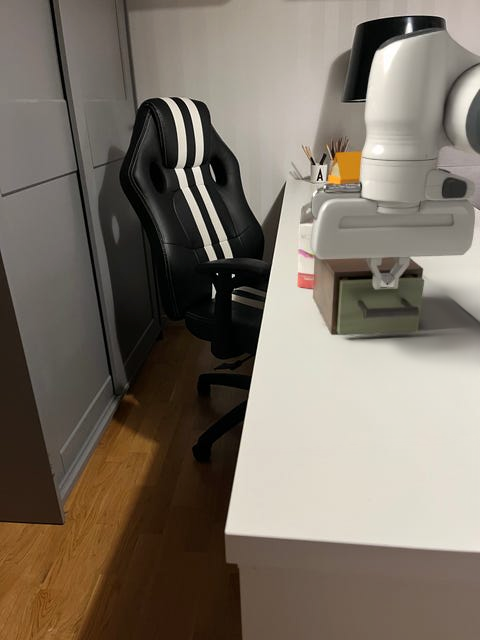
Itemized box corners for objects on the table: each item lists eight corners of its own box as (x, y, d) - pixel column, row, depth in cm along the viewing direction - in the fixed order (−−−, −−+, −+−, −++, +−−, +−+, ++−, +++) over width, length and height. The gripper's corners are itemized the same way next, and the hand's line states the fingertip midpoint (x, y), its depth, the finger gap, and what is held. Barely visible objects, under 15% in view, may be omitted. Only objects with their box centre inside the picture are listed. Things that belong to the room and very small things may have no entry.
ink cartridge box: (322, 291, 90) (326, 208, 84) (296, 287, 92) (298, 206, 86) (336, 276, 97) (340, 199, 91) (311, 273, 99) (314, 198, 93)
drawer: (430, 346, 67) (438, 292, 64) (346, 350, 67) (350, 295, 64) (387, 297, 84) (392, 252, 81) (320, 300, 83) (322, 255, 80)
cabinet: (415, 330, 74) (423, 268, 70) (330, 334, 73) (334, 272, 69) (384, 295, 87) (389, 241, 83) (312, 298, 87) (314, 244, 83)
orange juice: (325, 233, 127) (329, 151, 119) (357, 231, 129) (363, 149, 121) (337, 241, 120) (341, 154, 112) (371, 238, 122) (378, 152, 114)
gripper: (316, 188, 58) (311, 299, 64) (489, 183, 59) (469, 293, 64) (307, 179, 64) (303, 282, 69) (464, 176, 64) (448, 277, 70)
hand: (384, 287), depth 67 cm, fingers closed
